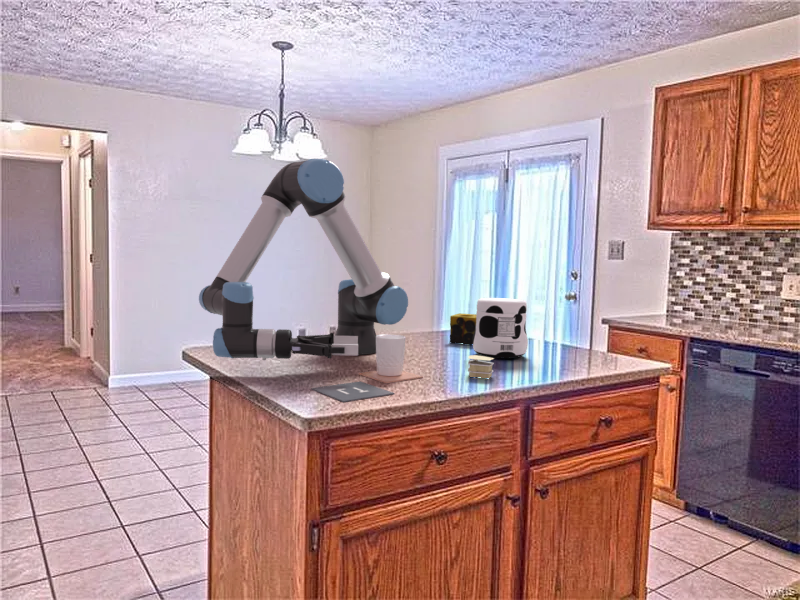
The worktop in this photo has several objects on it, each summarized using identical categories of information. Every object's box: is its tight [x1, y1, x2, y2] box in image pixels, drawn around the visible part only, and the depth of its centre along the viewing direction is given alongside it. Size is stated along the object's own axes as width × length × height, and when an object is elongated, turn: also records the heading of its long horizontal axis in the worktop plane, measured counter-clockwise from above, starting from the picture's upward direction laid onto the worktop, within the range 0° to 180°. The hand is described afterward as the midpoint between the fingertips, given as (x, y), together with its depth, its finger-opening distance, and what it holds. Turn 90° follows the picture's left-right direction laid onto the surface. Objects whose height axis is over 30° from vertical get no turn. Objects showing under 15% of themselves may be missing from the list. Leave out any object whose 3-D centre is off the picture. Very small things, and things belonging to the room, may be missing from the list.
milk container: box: [472, 297, 529, 359], centre depth 197 cm, size 17×17×18 cm
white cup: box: [375, 333, 407, 376], centre depth 164 cm, size 8×8×10 cm
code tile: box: [311, 380, 395, 403], centre depth 145 cm, size 14×14×1 cm
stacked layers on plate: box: [467, 354, 495, 379], centre depth 166 cm, size 10×9×6 cm
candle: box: [449, 313, 476, 345], centre depth 223 cm, size 10×10×10 cm
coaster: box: [358, 370, 424, 384], centre depth 163 cm, size 12×12×1 cm
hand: (358, 345), depth 162 cm, fingers open, 13 cm apart
